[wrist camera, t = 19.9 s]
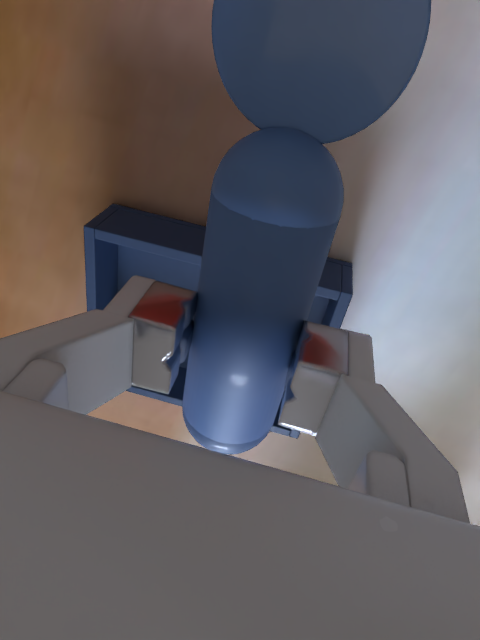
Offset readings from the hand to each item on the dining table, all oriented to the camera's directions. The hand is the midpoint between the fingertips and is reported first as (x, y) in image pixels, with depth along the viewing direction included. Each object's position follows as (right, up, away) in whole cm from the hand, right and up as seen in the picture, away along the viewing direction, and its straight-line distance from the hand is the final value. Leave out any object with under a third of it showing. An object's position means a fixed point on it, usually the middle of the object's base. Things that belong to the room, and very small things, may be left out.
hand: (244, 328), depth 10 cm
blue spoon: (+1, +3, 0) cm, 3 cm away
